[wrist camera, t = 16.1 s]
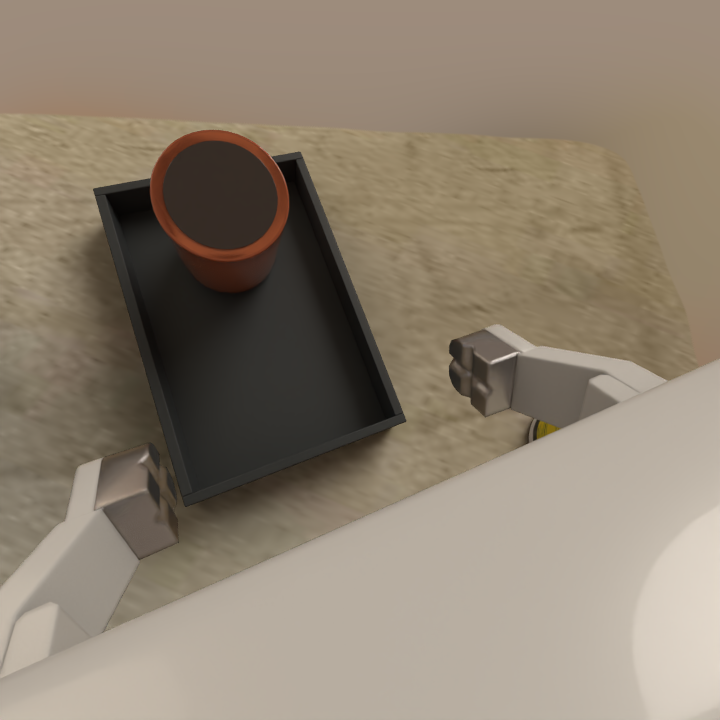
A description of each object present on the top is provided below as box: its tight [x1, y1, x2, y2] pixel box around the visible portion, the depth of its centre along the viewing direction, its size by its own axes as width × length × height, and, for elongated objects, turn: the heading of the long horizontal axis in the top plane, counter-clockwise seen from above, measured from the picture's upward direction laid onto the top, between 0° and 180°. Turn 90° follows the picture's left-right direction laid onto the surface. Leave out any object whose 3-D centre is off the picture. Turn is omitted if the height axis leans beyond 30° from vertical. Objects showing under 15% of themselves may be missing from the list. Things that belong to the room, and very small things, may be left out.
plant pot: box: [150, 130, 289, 293], centre depth 25 cm, size 7×7×9 cm
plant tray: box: [93, 152, 406, 507], centre depth 28 cm, size 21×14×3 cm
